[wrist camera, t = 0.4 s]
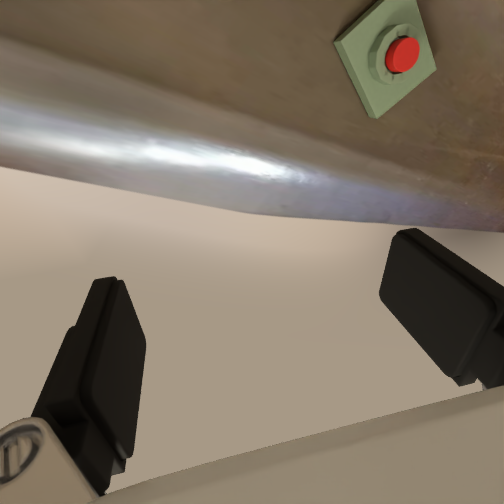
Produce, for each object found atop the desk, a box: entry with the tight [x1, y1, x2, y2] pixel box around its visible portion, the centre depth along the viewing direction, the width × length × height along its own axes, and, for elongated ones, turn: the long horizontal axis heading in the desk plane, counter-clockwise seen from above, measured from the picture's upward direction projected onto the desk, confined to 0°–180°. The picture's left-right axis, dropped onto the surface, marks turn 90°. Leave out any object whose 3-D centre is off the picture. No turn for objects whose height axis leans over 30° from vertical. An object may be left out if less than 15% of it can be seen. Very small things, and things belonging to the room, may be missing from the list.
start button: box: [385, 37, 420, 72], centre depth 37 cm, size 4×4×2 cm
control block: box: [333, 0, 436, 119], centre depth 39 cm, size 12×10×4 cm
